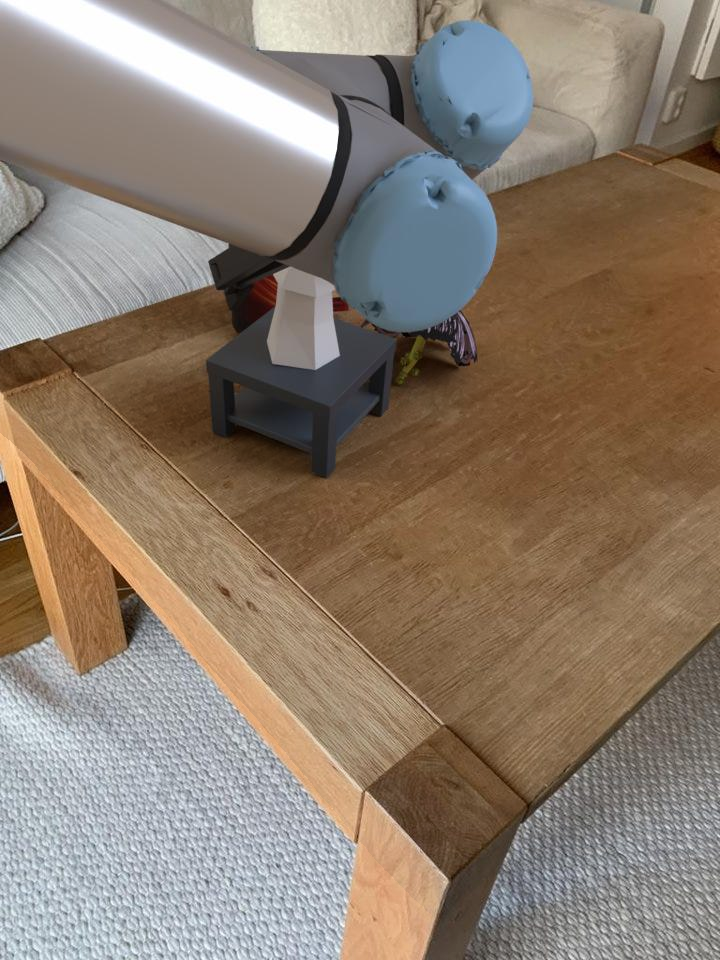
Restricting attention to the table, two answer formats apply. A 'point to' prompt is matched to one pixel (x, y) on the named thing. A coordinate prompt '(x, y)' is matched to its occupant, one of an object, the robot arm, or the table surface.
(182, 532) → the table surface
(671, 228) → the table surface
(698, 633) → the table surface
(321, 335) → the figurine
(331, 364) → the stand
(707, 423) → the table surface
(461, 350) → the decorative flower
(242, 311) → the mug
